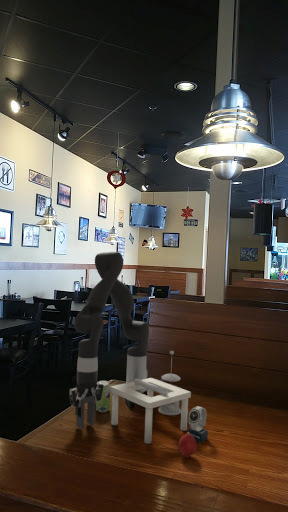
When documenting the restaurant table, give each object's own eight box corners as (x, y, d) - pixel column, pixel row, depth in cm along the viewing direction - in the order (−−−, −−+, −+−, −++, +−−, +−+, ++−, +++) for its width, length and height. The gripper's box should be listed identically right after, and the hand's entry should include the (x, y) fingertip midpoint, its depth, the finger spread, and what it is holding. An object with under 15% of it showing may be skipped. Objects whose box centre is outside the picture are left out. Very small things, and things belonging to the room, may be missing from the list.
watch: (184, 439, 141) (185, 408, 141) (196, 433, 147) (198, 402, 147) (198, 445, 137) (199, 412, 137) (210, 437, 143) (211, 406, 143)
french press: (174, 417, 161) (177, 354, 162) (149, 410, 168) (152, 350, 168) (185, 409, 170) (187, 350, 170) (161, 403, 176) (163, 346, 176)
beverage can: (111, 408, 168) (112, 379, 168) (108, 414, 161) (109, 384, 161) (96, 407, 169) (97, 378, 169) (92, 413, 161) (94, 383, 162)
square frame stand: (149, 411, 166) (151, 372, 166) (189, 429, 150) (191, 386, 150) (108, 423, 152) (110, 381, 152) (147, 444, 136) (149, 397, 136)
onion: (176, 452, 131) (177, 428, 131) (194, 452, 131) (195, 428, 131) (179, 461, 125) (180, 435, 125) (198, 461, 125) (198, 435, 126)
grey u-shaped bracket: (88, 422, 151) (90, 392, 151) (94, 425, 148) (95, 395, 148) (76, 425, 147) (77, 395, 147) (81, 428, 144) (82, 398, 145)
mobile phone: (136, 397, 169) (129, 385, 184) (129, 398, 168) (123, 386, 183) (136, 409, 169) (129, 396, 184) (129, 409, 168) (122, 397, 183)
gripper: (97, 363, 155) (95, 407, 155) (65, 369, 146) (63, 415, 146) (109, 368, 150) (107, 413, 150) (76, 374, 140) (74, 422, 140)
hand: (85, 414), depth 148 cm, fingers closed on grey u-shaped bracket, 5 cm apart
